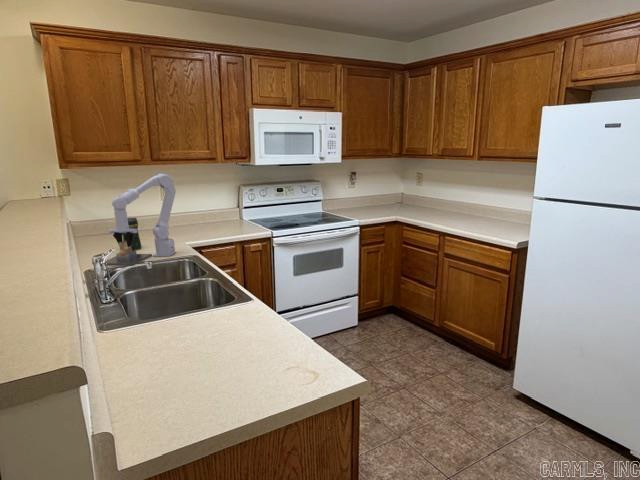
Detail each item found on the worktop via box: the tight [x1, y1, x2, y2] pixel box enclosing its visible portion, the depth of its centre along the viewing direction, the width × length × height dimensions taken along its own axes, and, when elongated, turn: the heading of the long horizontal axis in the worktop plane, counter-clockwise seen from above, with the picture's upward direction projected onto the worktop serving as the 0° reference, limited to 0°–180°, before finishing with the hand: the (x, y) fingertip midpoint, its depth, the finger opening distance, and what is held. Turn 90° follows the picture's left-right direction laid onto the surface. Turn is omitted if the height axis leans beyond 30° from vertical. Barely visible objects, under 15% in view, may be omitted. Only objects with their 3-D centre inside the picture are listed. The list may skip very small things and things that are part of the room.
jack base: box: [105, 250, 153, 266], centre depth 215 cm, size 18×18×4 cm
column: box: [118, 241, 133, 254], centre depth 214 cm, size 4×4×6 cm
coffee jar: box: [122, 217, 143, 251], centre depth 238 cm, size 10×8×19 cm
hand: (125, 246), depth 214 cm, fingers closed on column, 4 cm apart
